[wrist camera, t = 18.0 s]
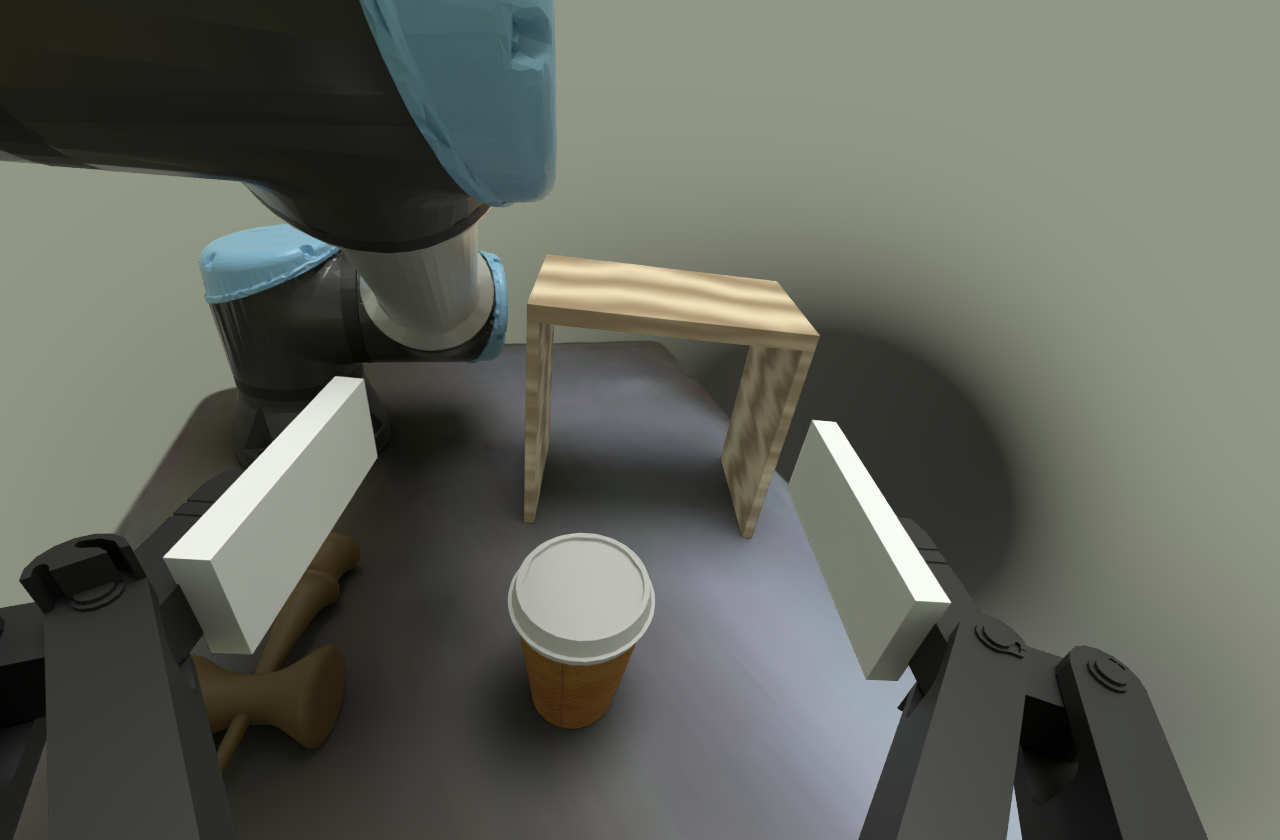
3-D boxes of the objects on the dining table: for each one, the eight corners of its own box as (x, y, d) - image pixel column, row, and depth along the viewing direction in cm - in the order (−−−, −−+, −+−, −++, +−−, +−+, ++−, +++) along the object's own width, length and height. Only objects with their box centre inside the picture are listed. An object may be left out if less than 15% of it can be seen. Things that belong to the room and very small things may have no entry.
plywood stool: (751, 538, 56) (819, 335, 44) (524, 522, 54) (527, 304, 41) (728, 458, 68) (776, 281, 55) (540, 443, 66) (547, 254, 53)
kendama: (394, 568, 48) (304, 827, 31) (278, 572, 46) (117, 846, 29) (384, 519, 45) (278, 776, 28) (259, 520, 43) (67, 794, 26)
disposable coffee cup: (570, 611, 46) (579, 508, 39) (659, 680, 41) (685, 578, 35) (481, 692, 39) (474, 584, 32) (577, 785, 35) (591, 682, 28)
